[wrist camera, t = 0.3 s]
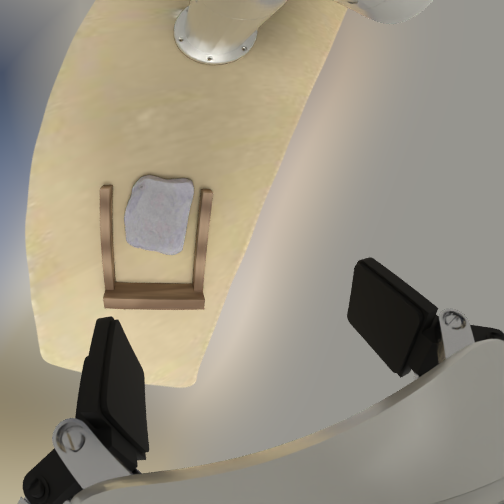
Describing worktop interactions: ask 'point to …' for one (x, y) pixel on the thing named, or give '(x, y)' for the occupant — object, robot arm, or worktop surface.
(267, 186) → the worktop surface
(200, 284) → the brown u-shaped frame
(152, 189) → the stone block
